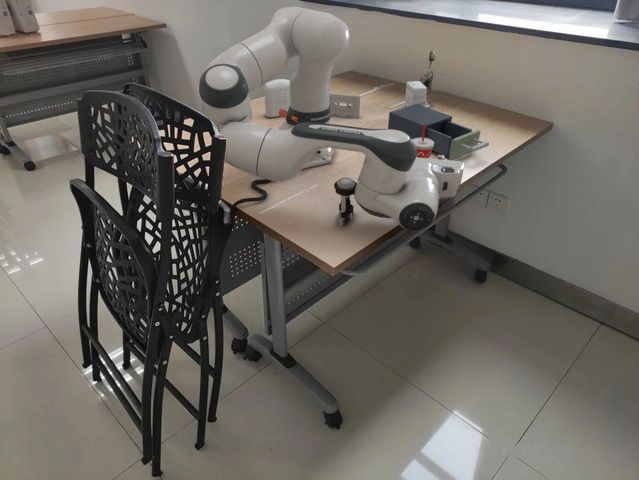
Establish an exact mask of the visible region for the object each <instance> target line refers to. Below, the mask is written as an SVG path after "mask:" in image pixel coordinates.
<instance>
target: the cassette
mask: <svg viewBox="0 0 639 480" xmlns="http://www.w3.org/2000/svg"><path fill="white" fill-rule="evenodd" d="M340 104H346V105H340ZM329 105H330V108H331V117H338V118H339V117H340V118H350V119H359V118H360V116H361V115H360V114H361V111H360V110H361V95H359V94H358V95H357V94H356V95H355V94H345V93H334V92H333V93H332V92H329Z"/></svg>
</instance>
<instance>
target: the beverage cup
mask: <svg viewBox="0 0 639 480" xmlns="http://www.w3.org/2000/svg"><path fill="white" fill-rule="evenodd" d="M425 128H426V124H424V129H423V137H422V138H414V139H412V140H413V142H414V144H415V147H416V150H417V157H418V158H429V159H431V155H432V151H433V150H432V148H433V146H434V142H433V141H432V140H431V139H428V138H424V135H425Z"/></svg>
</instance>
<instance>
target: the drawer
mask: <svg viewBox="0 0 639 480" xmlns="http://www.w3.org/2000/svg"><path fill="white" fill-rule="evenodd" d="M481 132H482V131H481V130H479V129H475V130H473V129H472V128H469V127H467V126H464V125H461V124H459V123H457V122H453V121H452V122H451V121H448V120H447V121H444V122H442V123H439V124H436V125H433V126H430V127H427V128H426V131H425V138H428V139H431V140H432V141H433V142H434V146H433V148H432V151H434V152H435V153H437V154H439V155H444V157H448V160H452V161H457V160H458V159H461V158H462V157H465V156H467V155H469V154H472V153H474V152H478V151H479V150H482V149H484V148H486V147H488V146H490V142H489V141H483V140H480V137H481Z"/></svg>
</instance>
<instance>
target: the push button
mask: <svg viewBox="0 0 639 480" xmlns="http://www.w3.org/2000/svg"><path fill="white" fill-rule="evenodd" d="M356 185H357V181H355V180H354V179H353V178H351V177H341V178H339V179H338V180H337V181H335V182H334V183H333V188H334V190H335V191H334V192H335V194H337V195H338V196H339V197H340V198H341V199H340V203H339V204H338V223H339V224H338V226H340V227H341V226H343V225H344V224H345V225H346V224H348V221H349V220H350V221H352V219H353V216H354V208H355V207H354V205H353V204H351V203H352V202H351V201H352V200H351V196H354V192H355V188H356Z"/></svg>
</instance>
